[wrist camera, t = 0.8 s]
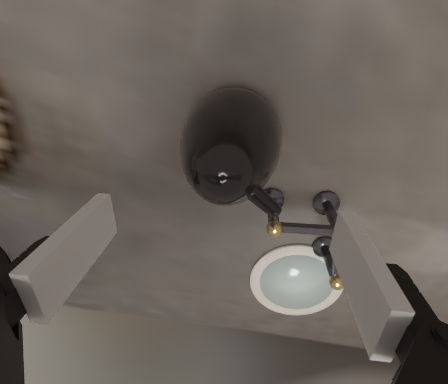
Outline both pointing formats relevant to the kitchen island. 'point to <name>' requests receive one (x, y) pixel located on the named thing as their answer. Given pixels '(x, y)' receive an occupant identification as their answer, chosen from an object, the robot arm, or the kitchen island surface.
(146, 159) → the kitchen island surface
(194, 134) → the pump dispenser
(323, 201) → the metal corner railing
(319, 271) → the coaster
